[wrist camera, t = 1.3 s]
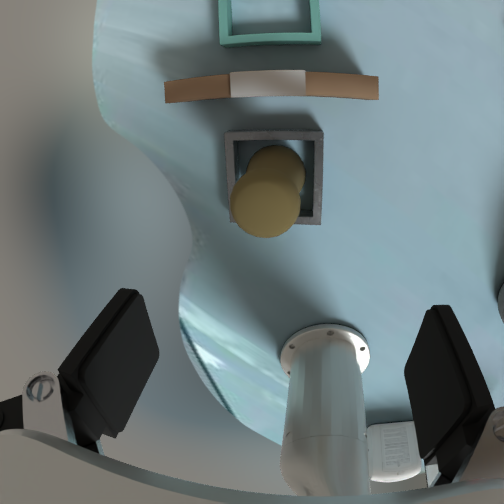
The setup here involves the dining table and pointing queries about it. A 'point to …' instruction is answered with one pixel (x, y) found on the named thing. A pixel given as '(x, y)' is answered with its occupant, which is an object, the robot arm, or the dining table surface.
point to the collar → (266, 38)
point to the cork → (269, 192)
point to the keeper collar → (317, 135)
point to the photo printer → (393, 451)
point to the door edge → (272, 85)
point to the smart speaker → (501, 302)
